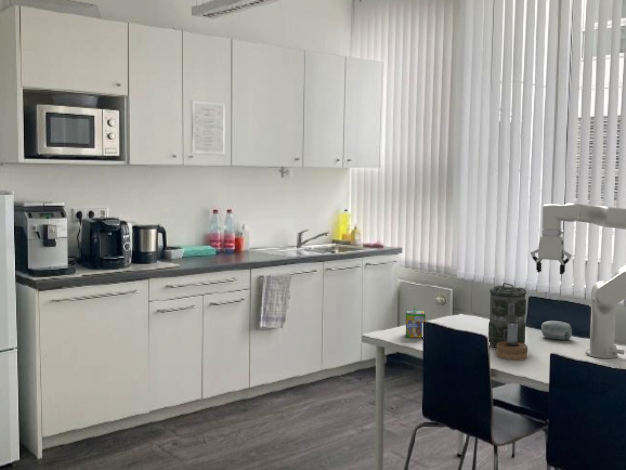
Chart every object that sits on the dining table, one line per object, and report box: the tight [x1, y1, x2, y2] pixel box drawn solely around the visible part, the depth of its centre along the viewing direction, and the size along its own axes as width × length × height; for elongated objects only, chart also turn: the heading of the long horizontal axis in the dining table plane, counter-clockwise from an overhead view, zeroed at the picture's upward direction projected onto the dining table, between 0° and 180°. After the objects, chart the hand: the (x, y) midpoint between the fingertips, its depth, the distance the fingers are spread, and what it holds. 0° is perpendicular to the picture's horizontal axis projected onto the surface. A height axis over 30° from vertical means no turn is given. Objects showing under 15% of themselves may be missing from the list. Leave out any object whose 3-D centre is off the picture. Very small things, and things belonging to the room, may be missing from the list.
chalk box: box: [405, 304, 426, 339], centre depth 331 cm, size 9×9×15 cm
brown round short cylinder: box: [496, 341, 528, 361], centre depth 296 cm, size 12×12×5 cm
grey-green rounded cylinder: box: [540, 320, 573, 341], centre depth 327 cm, size 14×10×10 cm
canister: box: [487, 282, 527, 349], centre depth 312 cm, size 16×16×28 cm
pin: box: [507, 323, 518, 347], centre depth 295 cm, size 4×4×14 cm
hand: (550, 272), depth 301 cm, fingers open, 9 cm apart
